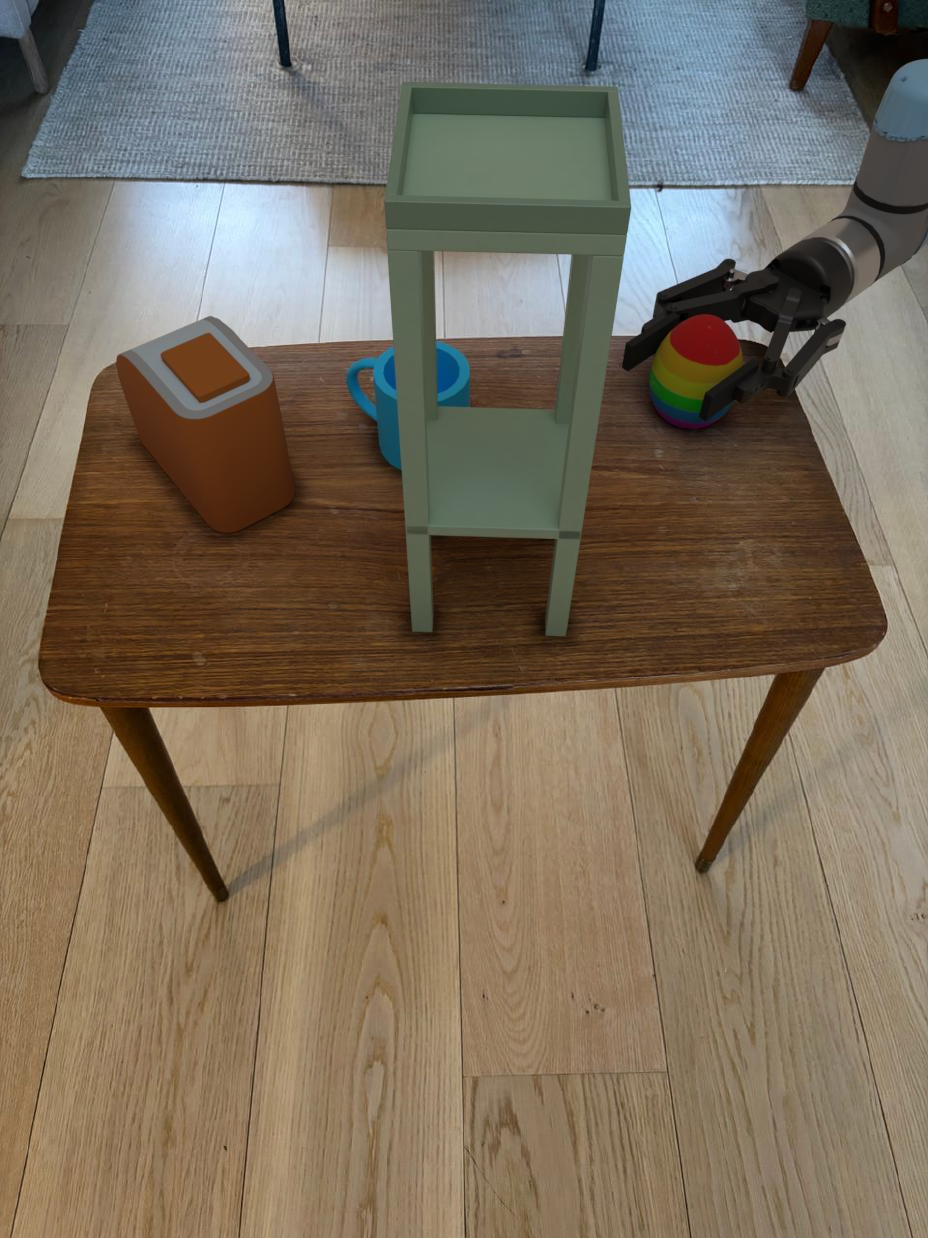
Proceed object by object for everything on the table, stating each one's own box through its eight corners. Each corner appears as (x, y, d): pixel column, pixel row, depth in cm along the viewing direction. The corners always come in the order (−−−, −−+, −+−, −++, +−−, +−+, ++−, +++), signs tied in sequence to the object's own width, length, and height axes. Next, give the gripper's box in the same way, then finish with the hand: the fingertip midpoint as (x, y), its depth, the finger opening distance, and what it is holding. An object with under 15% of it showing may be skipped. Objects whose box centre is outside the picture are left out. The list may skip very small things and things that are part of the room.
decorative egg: (638, 431, 90) (656, 342, 82) (648, 374, 95) (666, 284, 87) (728, 446, 89) (755, 357, 81) (734, 387, 94) (760, 298, 86)
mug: (485, 430, 90) (487, 358, 84) (440, 486, 86) (438, 416, 80) (375, 386, 94) (368, 314, 87) (326, 439, 90) (316, 367, 83)
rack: (562, 521, 84) (617, 85, 55) (565, 636, 77) (631, 206, 48) (421, 517, 84) (402, 80, 55) (412, 631, 77) (383, 200, 48)
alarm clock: (307, 496, 85) (285, 372, 74) (220, 541, 82) (184, 419, 71) (223, 403, 92) (191, 278, 81) (140, 442, 89) (96, 316, 78)
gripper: (900, 359, 93) (752, 476, 84) (723, 261, 102) (573, 358, 93) (930, 290, 87) (775, 409, 78) (740, 193, 96) (581, 290, 87)
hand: (665, 381), depth 85 cm, fingers closed on decorative egg, 8 cm apart
